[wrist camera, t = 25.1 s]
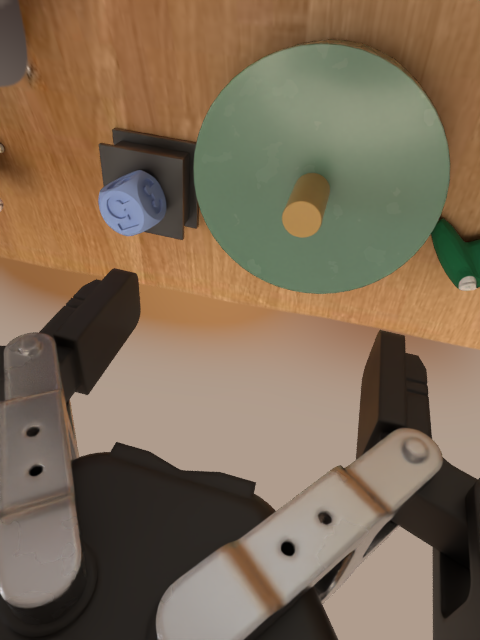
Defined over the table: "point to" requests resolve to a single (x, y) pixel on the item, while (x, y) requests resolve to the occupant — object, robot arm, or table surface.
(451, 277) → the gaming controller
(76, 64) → the table surface
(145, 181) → the decorative dice
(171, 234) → the stand
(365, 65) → the tin lid
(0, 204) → the bull figurine
